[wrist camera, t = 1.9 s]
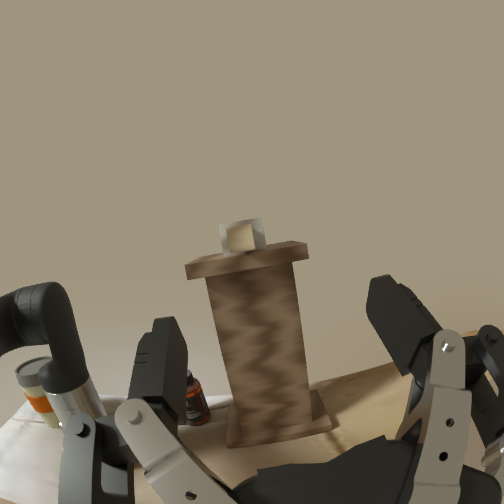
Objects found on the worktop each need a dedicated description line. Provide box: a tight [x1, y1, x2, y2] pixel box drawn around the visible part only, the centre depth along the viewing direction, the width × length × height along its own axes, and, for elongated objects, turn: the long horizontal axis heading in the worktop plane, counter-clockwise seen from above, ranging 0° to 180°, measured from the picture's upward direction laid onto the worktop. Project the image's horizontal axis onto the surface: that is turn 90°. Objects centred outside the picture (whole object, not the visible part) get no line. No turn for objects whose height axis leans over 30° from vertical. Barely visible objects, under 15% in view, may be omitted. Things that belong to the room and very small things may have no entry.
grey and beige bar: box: [219, 218, 267, 256], centre depth 35 cm, size 6×19×4 cm, turn 1°
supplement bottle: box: [187, 370, 210, 425], centre depth 46 cm, size 6×6×11 cm
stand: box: [185, 241, 332, 448], centre depth 42 cm, size 18×12×32 cm, turn 91°
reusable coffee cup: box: [15, 356, 60, 428], centre depth 42 cm, size 12×13×15 cm
